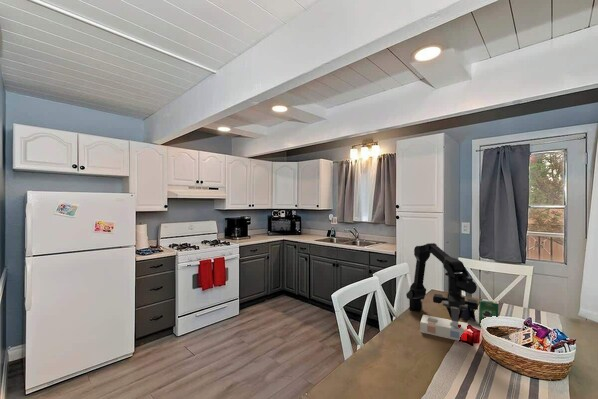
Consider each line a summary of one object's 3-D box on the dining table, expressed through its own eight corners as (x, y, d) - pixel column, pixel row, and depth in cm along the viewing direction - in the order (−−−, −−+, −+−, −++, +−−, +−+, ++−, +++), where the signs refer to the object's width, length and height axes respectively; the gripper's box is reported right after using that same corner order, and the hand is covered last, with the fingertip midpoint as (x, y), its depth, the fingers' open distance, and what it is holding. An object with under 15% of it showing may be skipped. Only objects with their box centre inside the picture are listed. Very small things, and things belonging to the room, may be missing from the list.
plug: (451, 324, 135) (451, 308, 134) (451, 322, 137) (451, 305, 137) (458, 326, 133) (458, 309, 133) (458, 323, 135) (458, 307, 135)
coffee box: (496, 326, 143) (496, 301, 143) (498, 329, 140) (498, 303, 140) (478, 324, 146) (478, 299, 145) (480, 327, 143) (479, 301, 143)
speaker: (475, 316, 154) (472, 298, 154) (475, 321, 149) (473, 302, 149) (459, 315, 158) (457, 297, 158) (459, 320, 153) (457, 301, 153)
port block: (420, 332, 138) (420, 321, 138) (423, 324, 147) (423, 314, 147) (467, 342, 128) (467, 331, 128) (467, 333, 137) (467, 322, 137)
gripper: (431, 288, 133) (431, 321, 133) (478, 295, 123) (478, 330, 123) (434, 282, 142) (434, 312, 143) (477, 288, 133) (477, 320, 133)
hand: (455, 318), depth 135 cm, fingers closed on plug, 3 cm apart
